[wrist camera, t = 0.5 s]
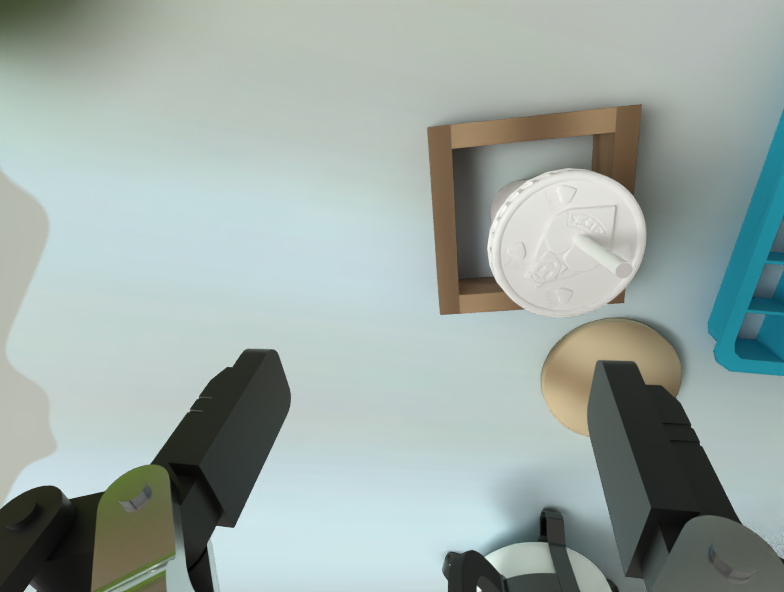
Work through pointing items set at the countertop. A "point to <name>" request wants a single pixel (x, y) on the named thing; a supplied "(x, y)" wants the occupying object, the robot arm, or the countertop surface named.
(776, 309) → the ice cube tray
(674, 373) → the trivet
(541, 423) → the countertop surface
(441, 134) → the square wooden frame
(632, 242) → the smoothie
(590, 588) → the coffee press
